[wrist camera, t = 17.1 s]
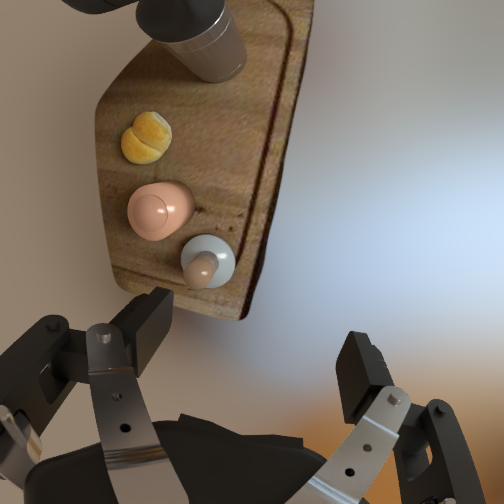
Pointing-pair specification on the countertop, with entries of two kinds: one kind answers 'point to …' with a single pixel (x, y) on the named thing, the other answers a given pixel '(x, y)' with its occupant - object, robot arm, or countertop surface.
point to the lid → (207, 262)
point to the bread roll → (146, 138)
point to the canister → (160, 209)
